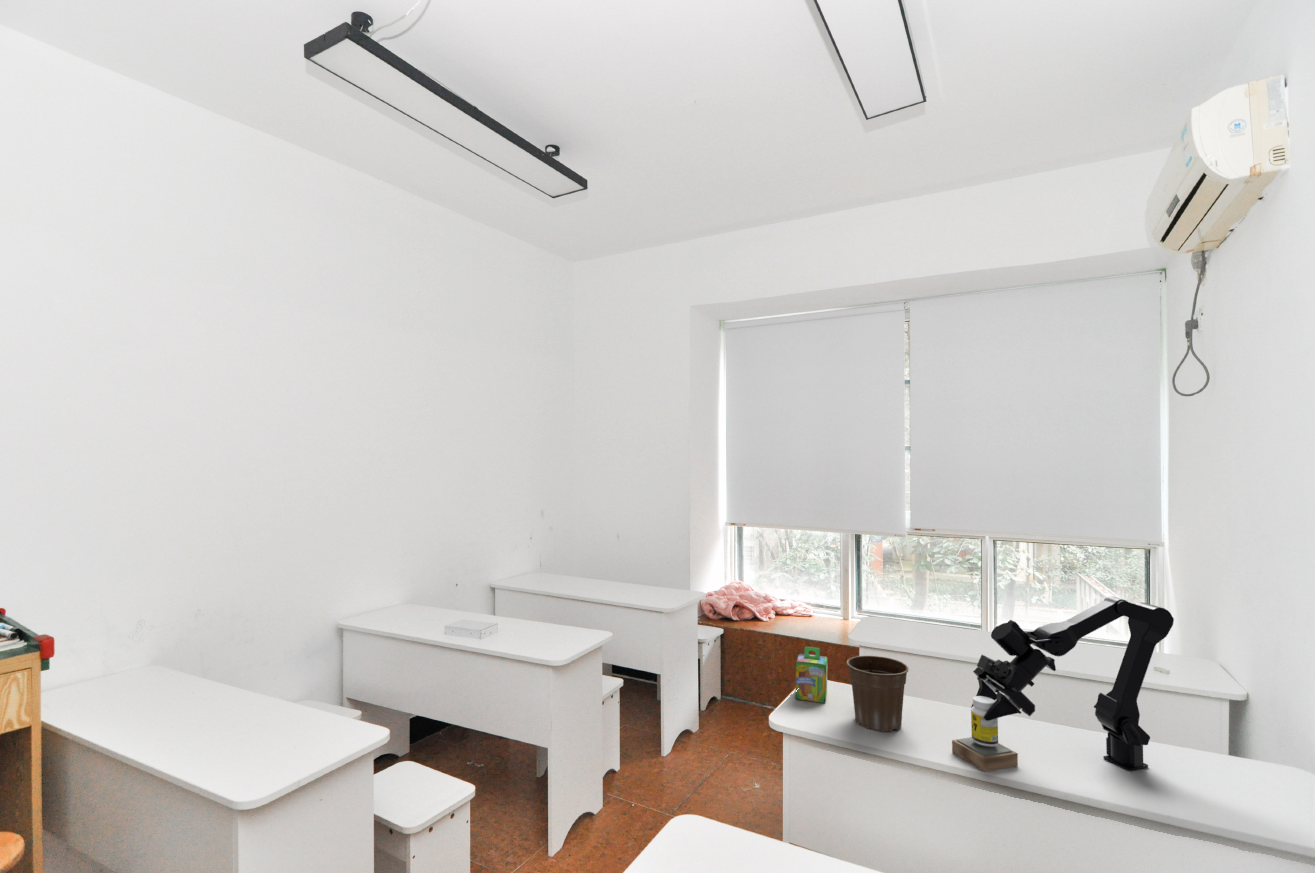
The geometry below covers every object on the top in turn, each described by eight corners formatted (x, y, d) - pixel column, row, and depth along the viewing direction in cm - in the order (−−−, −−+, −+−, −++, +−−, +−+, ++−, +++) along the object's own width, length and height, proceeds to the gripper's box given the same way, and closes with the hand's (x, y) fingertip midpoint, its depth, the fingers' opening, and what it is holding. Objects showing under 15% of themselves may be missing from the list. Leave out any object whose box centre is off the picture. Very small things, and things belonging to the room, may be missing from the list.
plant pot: (850, 732, 162) (850, 671, 163) (843, 709, 178) (843, 653, 179) (915, 738, 159) (914, 675, 160) (901, 713, 175) (901, 657, 176)
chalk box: (795, 699, 185) (795, 650, 186) (797, 689, 193) (798, 642, 194) (826, 703, 182) (826, 653, 183) (827, 693, 191) (828, 645, 191)
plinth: (1017, 765, 145) (1017, 751, 145) (984, 771, 142) (984, 757, 142) (983, 747, 155) (983, 734, 155) (952, 752, 152) (952, 738, 152)
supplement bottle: (969, 735, 152) (968, 693, 153) (995, 738, 151) (994, 696, 151) (974, 745, 147) (973, 702, 147) (1000, 748, 145) (999, 705, 146)
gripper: (980, 634, 159) (938, 676, 159) (1020, 656, 140) (973, 704, 140) (1011, 665, 158) (969, 708, 158) (1056, 692, 140) (1008, 740, 140)
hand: (978, 713), depth 149 cm, fingers closed on supplement bottle, 6 cm apart
